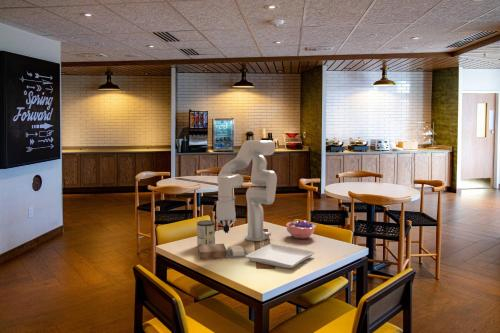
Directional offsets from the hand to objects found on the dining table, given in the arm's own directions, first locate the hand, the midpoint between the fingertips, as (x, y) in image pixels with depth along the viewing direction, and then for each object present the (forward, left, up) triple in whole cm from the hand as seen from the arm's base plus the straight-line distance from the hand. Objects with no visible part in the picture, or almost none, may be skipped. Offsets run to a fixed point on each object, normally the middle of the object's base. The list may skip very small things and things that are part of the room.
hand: (226, 232), depth 230 cm
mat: (-6, +1, -12) cm, 13 cm away
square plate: (-26, +14, -13) cm, 32 cm away
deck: (+8, +1, -12) cm, 14 cm away
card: (-6, +1, -9) cm, 11 cm away
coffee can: (+10, -16, -12) cm, 23 cm away
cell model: (-49, -25, -12) cm, 57 cm away
